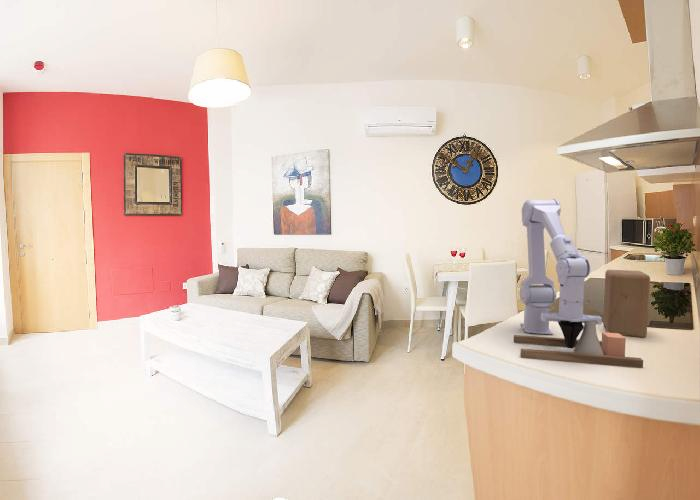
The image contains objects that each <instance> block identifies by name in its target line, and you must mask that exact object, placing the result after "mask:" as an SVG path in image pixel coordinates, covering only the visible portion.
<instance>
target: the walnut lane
mask: <svg viewBox="0 0 700 500" xmlns="http://www.w3.org/2000/svg"><path fill="white" fill-rule="evenodd" d="M579 339H580V338H579ZM579 339H578V338H577V339H576V341H575V344H574V347H573V348H575V347H576V345H577V343H578V341H579ZM513 342H514V344H526V345H528V344H529V345H538V346H540V345H542V346H551V347H553V346H554V347H566V345H565V339H564V337H549V336H538V335H537V336H535V335H519V334H514V335H513ZM599 343H600V345H602V340H599ZM566 348H567V347H566ZM520 357H521V358H525V359H537V360H548V361H558V362H559V361H560V362H570V363H580V364H581V363H583V364H595V365H596V364H597V365H607V366H615V367H616V366H617V367H630V368H639V369H641V368H644V360H643V359H642V358H641V357H633V356H632V357H631V356H625V357H622V356H610V355H597V354H585V353H575V352H572V351H570V352H568V351H557V350H546V349H545V350H543V349H533V348H522V347H521V348H520Z"/></svg>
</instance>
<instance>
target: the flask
mask: <svg viewBox="0 0 700 500" xmlns="http://www.w3.org/2000/svg"><path fill="white" fill-rule="evenodd" d="M584 322H585V323H583V325H584V328H583V330H582V331H581V332H582V333H581V335H580V337H579V341H578V343H577V345H576V347H574V348H573V353H585V354H597V355H604V353H603V351H602V348H601V345H600V343H599V341H600V340H599V337H598V333H597V328H596V327H597V326H596V325H597V324H596V323H597V321H584Z"/></svg>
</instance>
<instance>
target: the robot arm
mask: <svg viewBox="0 0 700 500" xmlns="http://www.w3.org/2000/svg"><path fill="white" fill-rule="evenodd" d="M561 208H562V207H561V204H560V202H559V201H558V199H556V198H555V199H554V198H553V199H534V200H533V199H531V200H530V199H526V200H525V201H524V203H523V205H522V207H521V223H522V226H523V227H526V235H527V236H526V238H527V240H526V241H527V259H528V276H527V277H525V278H524V279H523V280H521V281H520V289H519V298H520V301H521V302H522V304H525V305H524V308H523V311H524V312H523V323H522V322H521V323H520V326H521V327H522V329H523V330H524V332H525V333H527V334H537V335H538V334H540V335H541V334H542V335H553V334H554V332H552V331H551V329H550V322H557V324H558V326H559V327H560V330H561V332H562V335H563V338H564V339H565V345H566V348H567V349H574V348H575V347H574V344H575V341H576V339H578V338H579V336H580V334H581V332H583V329H584V323H585V322H584V321H597V323H596V325H600V326H601V325H603V317H601V316H600V315H591V314H590V315H589V314H584V299H585V298H584V297H585V278H588V277H589V276H590V272H591V264H590V261H589V259H588V258H587V257H585V256H584V255H583V254H580V253H579V251H578V249H577V247H576V245H575V243H574V241H573V239H572V237H571V236H568V235H566V234H565V231H564V227H563V225H562V222H561V219H560V216H561V210H562V209H561ZM544 230H546V232H547V233H548V235H549V236H550V238H551V241H550V243H549V246H550V248H551V251H552V253H553V255H554V258H555V260H556V262H557V263H556V266H555V271H556V274H557V282H558V284H559V302H558V303H559V304H558V312H550V307H552V305H553V304H554V303H555V302H556V300H557V290H556V289H555V288H556V287H555V283H554V281H553V280H552V279H551V278H549V277H548V276H547V275H546V274H547V273H546V252H545V251H546V250H545V235H544V233H545V232H544Z"/></svg>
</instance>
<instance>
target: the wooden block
mask: <svg viewBox="0 0 700 500" xmlns="http://www.w3.org/2000/svg"><path fill="white" fill-rule="evenodd" d="M604 274H605V275H604V279H605V280H604V295H603V296H604V297H603V298H604V299H603V315H602V316H603V317H602V325H603V327H604V328H605V329H606V331H607V333H619V334H621V335H622V336H627V337H629V336H630V337H637V338H646V336H647V335H648V321H649V319H648V318H649V305H650V304H649V303H650V302H649V301H650V287H651V285H650V283H651V277H650V275H648V274H647V273H645V272H643V271H641V270H627V269H625V270H624V269H607V270H606V271H605V273H604Z"/></svg>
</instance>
